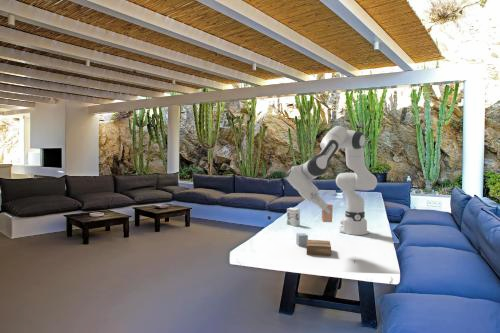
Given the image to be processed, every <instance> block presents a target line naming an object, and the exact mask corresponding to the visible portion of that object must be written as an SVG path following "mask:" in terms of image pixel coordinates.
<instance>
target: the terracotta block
mask: <svg viewBox="0 0 500 333" xmlns="http://www.w3.org/2000/svg"><path fill="white" fill-rule="evenodd" d="M326 204H327V205H328V206H327V208H328V209H329V210H330V211H331V213H330V214H328V213H327V212H326V211H325V210H322V209H321V221H322V222H323V223H333V208H334V207H333V206H334V205H333V204H332V203H326Z"/></svg>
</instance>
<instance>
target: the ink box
mask: <svg viewBox="0 0 500 333" xmlns="http://www.w3.org/2000/svg"><path fill="white" fill-rule="evenodd" d="M300 211H301V210H300V208H296V207H289V208H286V225H289V226H293V227H298V226H301V224H300V223H301V218H300V217H301V212H300Z"/></svg>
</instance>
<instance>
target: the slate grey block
mask: <svg viewBox="0 0 500 333" xmlns="http://www.w3.org/2000/svg"><path fill="white" fill-rule="evenodd" d="M307 240H309V235H308V234H307V233H303V232H302V233H301V232H300V233H298V232H297V233H296V242H295V244H296V245H297V246H298V247H307Z"/></svg>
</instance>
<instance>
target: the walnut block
mask: <svg viewBox="0 0 500 333" xmlns="http://www.w3.org/2000/svg"><path fill="white" fill-rule="evenodd" d="M331 244H332V243H331V241H330V240H318V239H308V240H307V246H306V255H307V256H308V255H309V256H321V257H322V256H323V257H332V246H331Z"/></svg>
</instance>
